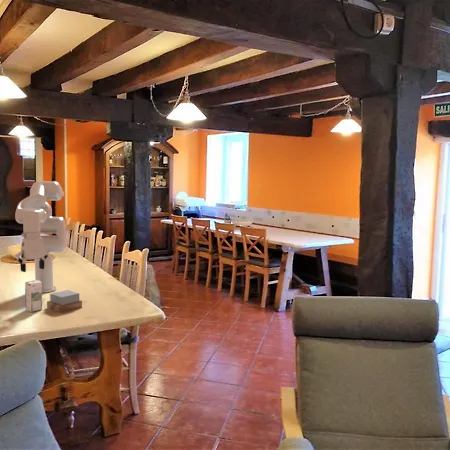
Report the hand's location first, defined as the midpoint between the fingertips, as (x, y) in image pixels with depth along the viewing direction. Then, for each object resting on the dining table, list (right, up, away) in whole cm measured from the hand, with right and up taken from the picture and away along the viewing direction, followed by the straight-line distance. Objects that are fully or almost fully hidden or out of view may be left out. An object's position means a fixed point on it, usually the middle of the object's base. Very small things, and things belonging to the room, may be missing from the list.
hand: (32, 270), depth 229 cm
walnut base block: (+13, -20, +8) cm, 25 cm away
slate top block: (+13, -16, +7) cm, 22 cm away
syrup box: (-1, -20, +3) cm, 20 cm away
